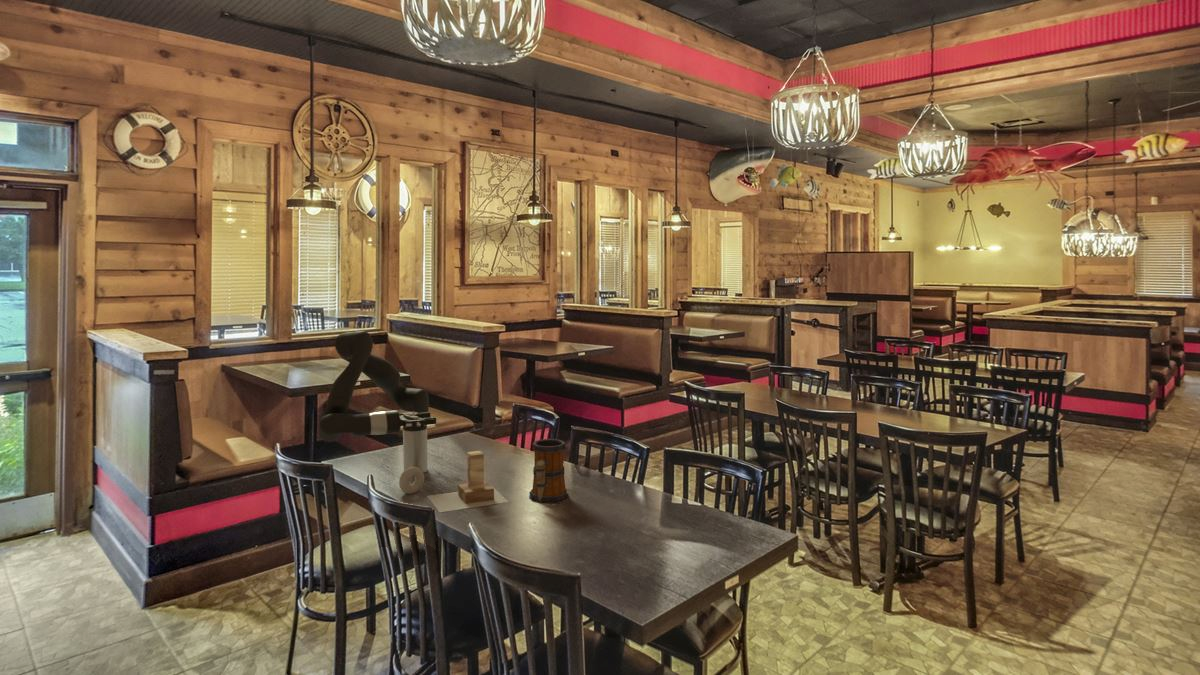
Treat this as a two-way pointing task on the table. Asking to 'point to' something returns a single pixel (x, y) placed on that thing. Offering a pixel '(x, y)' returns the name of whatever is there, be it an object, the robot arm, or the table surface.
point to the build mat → (460, 501)
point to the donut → (406, 477)
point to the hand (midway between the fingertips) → (433, 417)
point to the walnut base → (475, 493)
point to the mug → (548, 472)
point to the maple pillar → (475, 469)
